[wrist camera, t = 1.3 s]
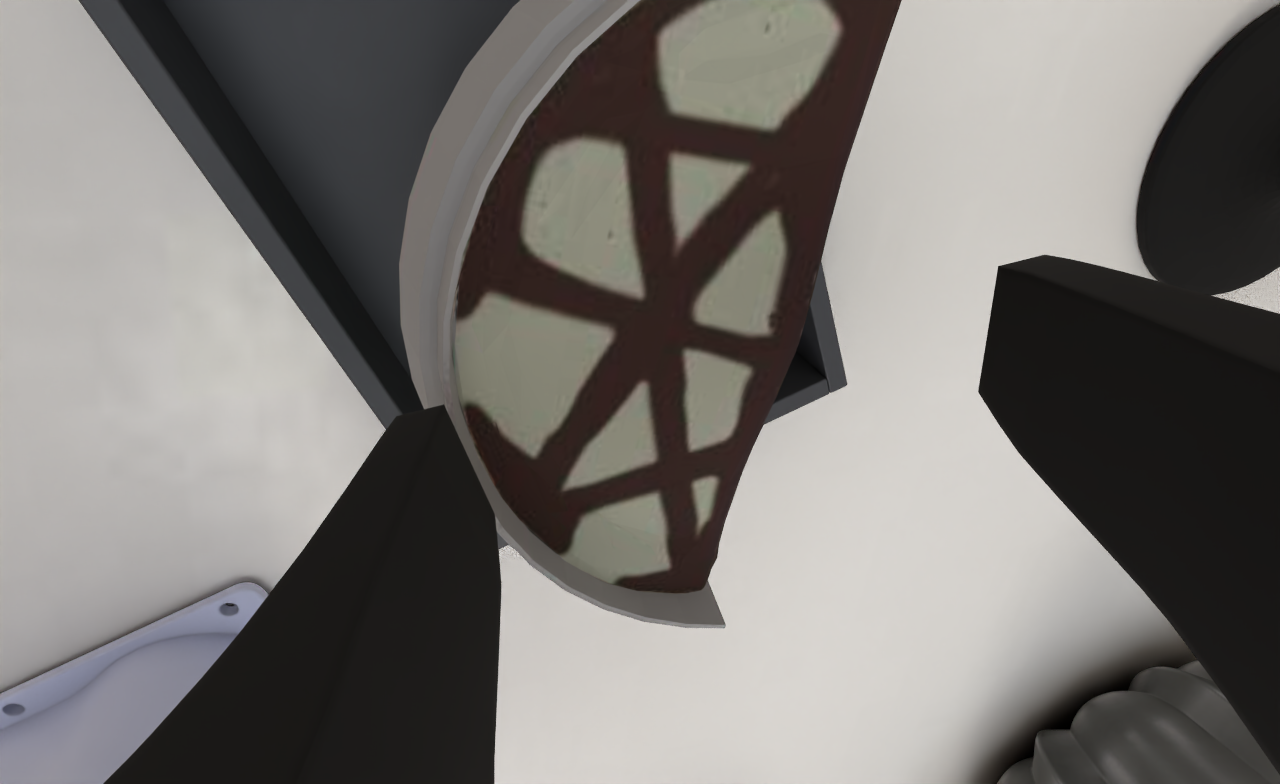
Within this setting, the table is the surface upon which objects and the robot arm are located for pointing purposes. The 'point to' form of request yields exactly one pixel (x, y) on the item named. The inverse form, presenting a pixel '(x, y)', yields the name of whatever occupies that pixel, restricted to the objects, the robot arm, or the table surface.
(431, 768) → the robot arm
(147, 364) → the table surface
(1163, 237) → the wine glass
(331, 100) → the dark gray tray
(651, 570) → the food container
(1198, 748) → the bundt pan
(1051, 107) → the table surface
